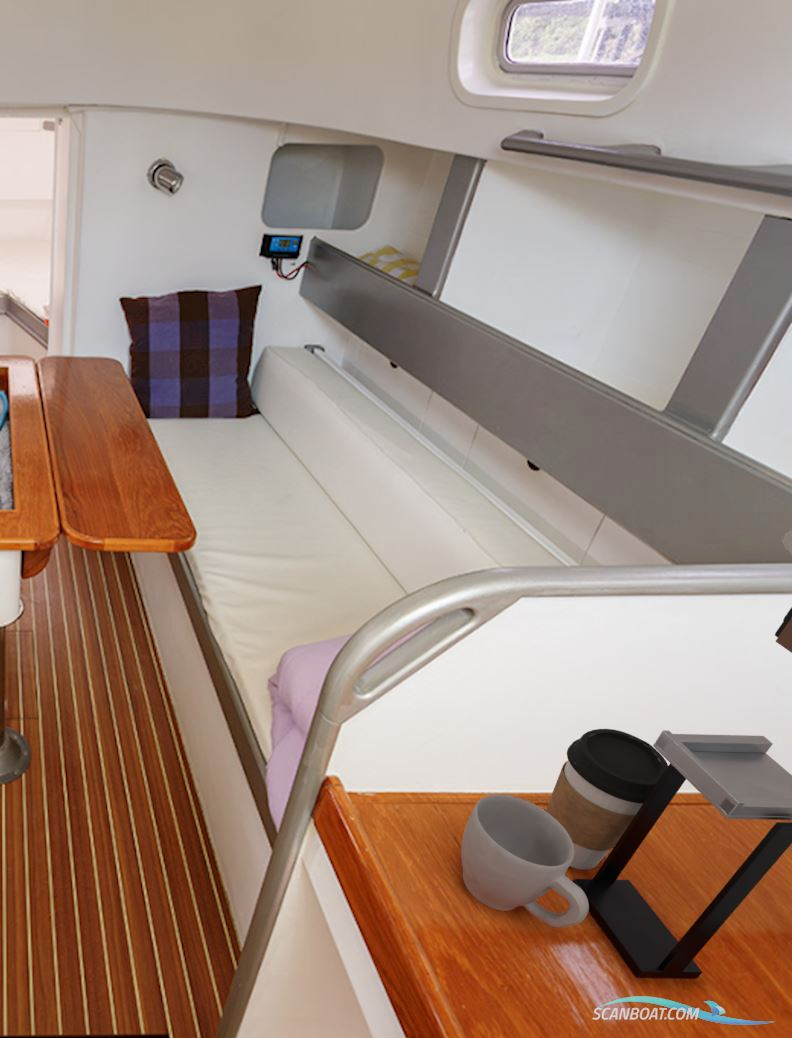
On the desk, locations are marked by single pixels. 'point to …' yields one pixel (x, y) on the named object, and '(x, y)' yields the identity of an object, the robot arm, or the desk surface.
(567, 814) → the coffee cup
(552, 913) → the mug
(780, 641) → the key
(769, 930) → the desk surface
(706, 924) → the stand
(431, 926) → the desk surface
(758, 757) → the silver letter tray
